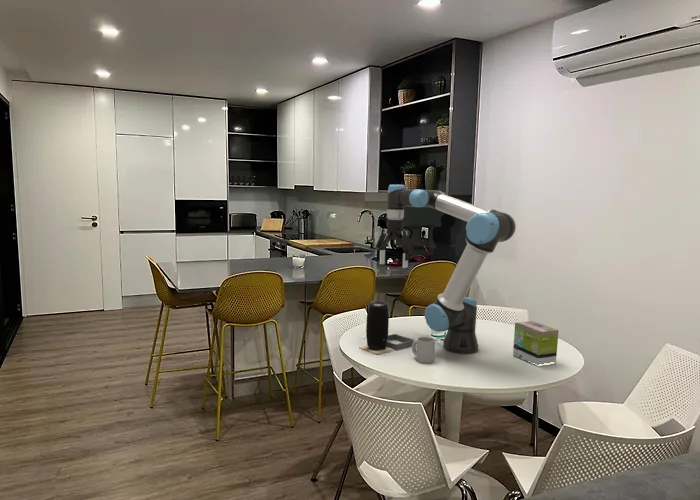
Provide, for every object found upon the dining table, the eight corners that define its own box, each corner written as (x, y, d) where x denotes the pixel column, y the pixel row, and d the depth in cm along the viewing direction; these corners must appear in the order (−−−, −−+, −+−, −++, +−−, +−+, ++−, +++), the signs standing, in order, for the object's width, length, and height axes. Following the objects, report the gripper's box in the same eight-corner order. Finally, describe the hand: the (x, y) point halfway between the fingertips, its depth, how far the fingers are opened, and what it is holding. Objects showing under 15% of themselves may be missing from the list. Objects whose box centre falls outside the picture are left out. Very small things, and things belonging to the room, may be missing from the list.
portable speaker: (390, 350, 218) (392, 305, 215) (369, 351, 215) (370, 305, 213) (383, 344, 226) (385, 300, 224) (363, 345, 223) (364, 301, 221)
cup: (427, 365, 202) (429, 343, 201) (406, 359, 209) (407, 337, 208) (437, 361, 208) (438, 339, 207) (416, 355, 214) (417, 334, 213)
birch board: (393, 350, 220) (393, 349, 220) (377, 354, 213) (377, 353, 213) (375, 344, 228) (375, 343, 228) (359, 348, 221) (359, 347, 221)
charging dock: (414, 345, 228) (415, 339, 228) (396, 350, 220) (396, 343, 220) (394, 339, 237) (395, 332, 237) (375, 343, 229) (376, 337, 228)
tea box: (511, 355, 218) (514, 321, 216) (530, 353, 222) (532, 320, 220) (537, 367, 204) (540, 331, 203) (556, 364, 208) (559, 329, 207)
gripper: (422, 220, 226) (420, 268, 228) (380, 217, 243) (378, 262, 245) (412, 220, 220) (409, 270, 223) (369, 217, 238) (367, 263, 240)
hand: (393, 265), depth 234 cm, fingers open, 13 cm apart
